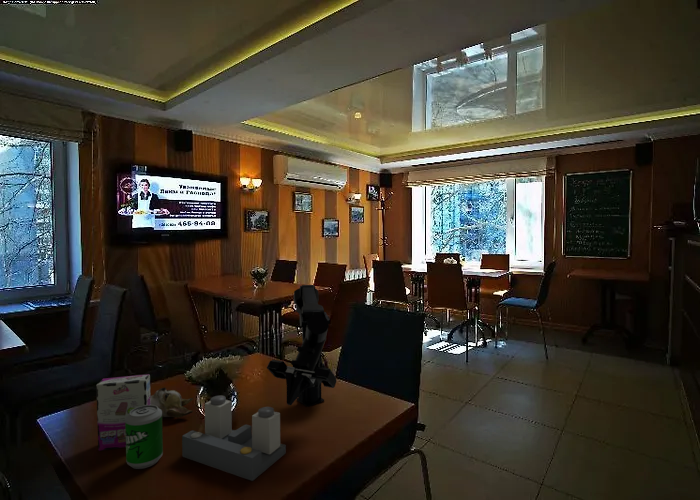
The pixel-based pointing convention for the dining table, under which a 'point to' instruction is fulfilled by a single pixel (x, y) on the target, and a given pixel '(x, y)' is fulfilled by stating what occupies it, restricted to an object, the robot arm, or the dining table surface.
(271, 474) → the dining table surface
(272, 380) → the dining table surface
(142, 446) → the soda can
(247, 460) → the switch panel
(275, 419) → the button
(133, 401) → the candy bar box
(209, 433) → the button
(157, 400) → the ceramic sculpture
